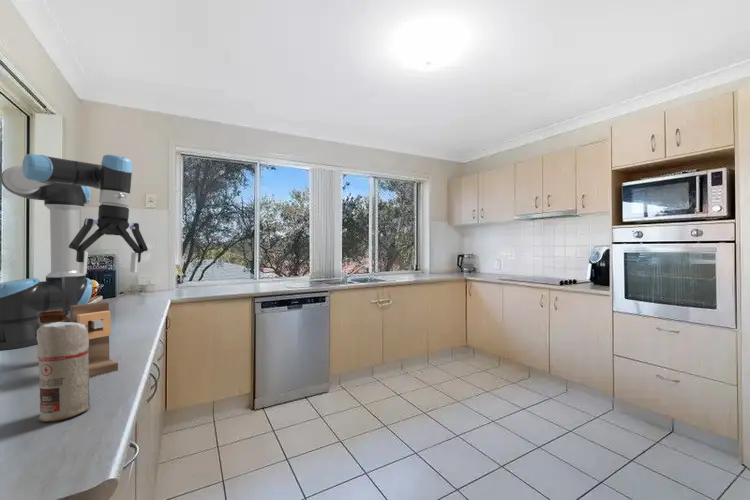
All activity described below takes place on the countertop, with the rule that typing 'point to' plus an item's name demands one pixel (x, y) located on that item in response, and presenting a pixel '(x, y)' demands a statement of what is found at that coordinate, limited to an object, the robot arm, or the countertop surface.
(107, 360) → the rail base
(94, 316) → the collar
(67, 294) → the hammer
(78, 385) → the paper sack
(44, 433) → the countertop surface
